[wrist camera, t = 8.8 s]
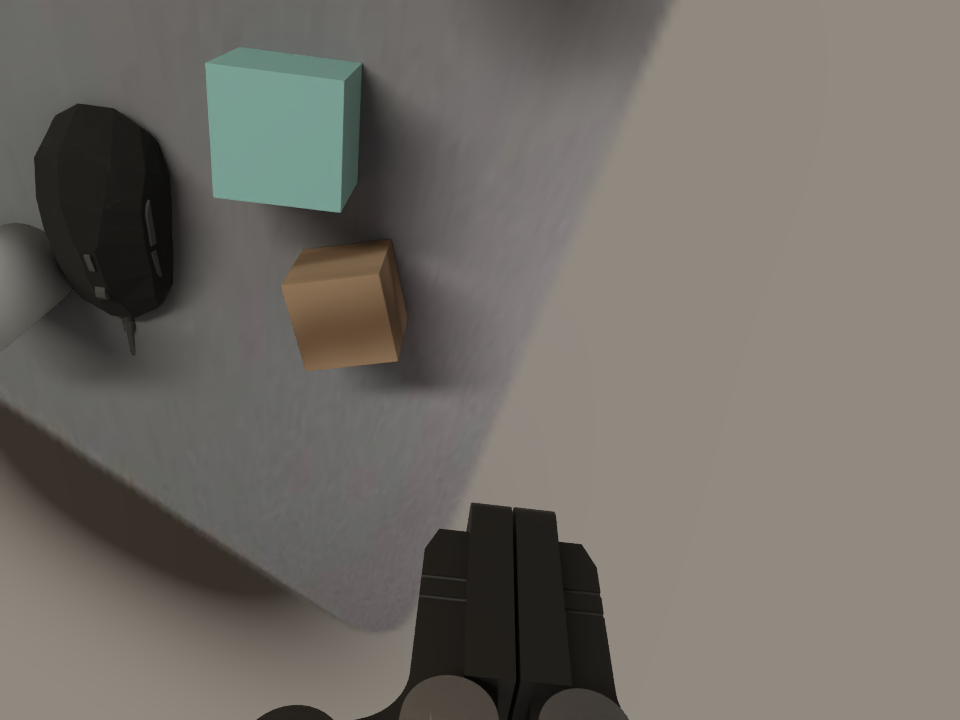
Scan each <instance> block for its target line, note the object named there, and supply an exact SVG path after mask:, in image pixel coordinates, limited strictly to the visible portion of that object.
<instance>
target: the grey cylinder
mask: <svg viewBox="0 0 960 720" xmlns="http://www.w3.org/2000/svg"><path fill="white" fill-rule="evenodd" d="M71 289H72V287H71V285H70V283H69V282H68V280H67V278H66V276H65V275H64V273H63V271H62V269H61V268H60V266H59V264H58V262H57V260H56V258H55V255H54V253H53V250H52V248H51V245H50V243H49V241H48V238H47V236H46V233H45V232H44V231H42V230H40V229H38V228H36V227H33V226H30V225H26V224H19V223H11V224H5V225H2V226H0V351H2V350H4V349H5V348H6V347H7V346H9V345H10V344H11V343H12V342H13V341H14V340H16V339H17V338H18V337H19V336H20V335H22V334H23V333H24V332H25V331H26V330H27V329H29V328H30V327H31V326H32V325H33V324H35V323H36V322H37V321H38V320H39V319H40V318H42V317H43V316H44V315H45V314H46V313H47V312H49V311H50V310H51V309H52V308H53V307H55V306H56V305H57V304H58V303H59V302H60V301H62V300H63V299H64V298H65V297H66V296H67V295H68V294H69V292H70V291H71Z"/></svg>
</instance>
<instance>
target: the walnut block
mask: <svg viewBox="0 0 960 720" xmlns="http://www.w3.org/2000/svg"><path fill="white" fill-rule="evenodd" d="M281 288H282V292H283V295H284V298H285V302H286V305H287V309H288V312H289V315H290V319H291V322H292V326H293V329H294V333H295V336H296V339H297V343H298V346H299V350H300V353H301V357H302V360H303V363H304V367H305V370H306V371H313V370H322V369H331V368H340V367H350V366H359V365H368V364H377V363H386V362H396V361H398V359H399V355H400V350H401V346H402V342H403V338H404V333H405V329H406V325H407V320H408V318H407V313H406V308H405V303H404V298H403V293H402V289H401V284H400V279H399V274H398V269H397V264H396V260H395V255H394V250H393V245H392V240H391V239H384V240H376V241H368V242H360V243H352V244H344V245H336V246H327V247H319V248H311V249H303V251H302V252H301V254H300V255H299V257H298V259H297V260H296V262H295V264H294V265H293V267H292V268H291V270H290V272H289V273H288V275H287V277H286V278H285V280H284V282H283V283H282V285H281Z"/></svg>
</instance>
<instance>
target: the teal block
mask: <svg viewBox="0 0 960 720" xmlns="http://www.w3.org/2000/svg"><path fill="white" fill-rule="evenodd" d="M205 67H206V84H207V100H208V117H209V133H210V150H211V167H212V183H213V197H215V198H223V199H231V200H239V201H248V202H256V203H264V204H272V205H280V206H289V207H297V208H305V209H313V210H321V211H330V212H338V213H341V211H342V210H343V208H344V206H345V204H346V202H347V201H348V199H349V197H350V195H351V193H352V192H353V190H354V188H355V186H356V184H357V183H358V158H359V132H360V106H361V80H362V63H357V62H350V61H342V60H334V59H327V58H319V57H311V56H303V55H296V54H288V53H280V52H272V51H265V50H257V49H249V48H242V47H239V48H236V49H234V50H232V51H230V52H228V53H226V54H223V55H221V56H219V57H217V58H215V59H213V60H210V61H208V62H206V63H205Z"/></svg>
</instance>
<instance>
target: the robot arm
mask: <svg viewBox="0 0 960 720" xmlns="http://www.w3.org/2000/svg"><path fill="white" fill-rule="evenodd" d="M412 652H413V653H412V660H411V668H410V676H409V680H408V682H407V685H406V687H405V689H404V690H403V692H402V694H401V695H400V696H399V697H398V698H397V699H396V701H395V702H393V703H392V704H391V705H390V706H389V707H387V708H386V709H384V710H382V711H381V712H379V713H376V714H374V715H372V716H369V717H365V718H361V719H357V720H629V719H628V717H627V716H626V715H625V713H624V712H623V710H622V709H621V708H620V705H619V702H618V700H617V696H616V691H615V684H614V678H613V672H612V665H611V659H610V652H609V645H608V639H607V633H606V626H605V619H604V618H603V606H602V599H601V597H600V587H599V580H598V573H597V567H596V566H595V564H594V563H593V561H592V560H591V558H590V557H589V555H588V553H587V552H586V550H585V549H584V547H583V546H582V544H574V543H565V542H558V532H557V522H556V515H555V512H552V511H543V510H534V509H526V508H517V507H514V509H513V512H512V508H511V507H506V506H498V505H489V504H480V503H471V506H470V512H469V519H468V525H467V531H466V532H464V531H455V530H446V529H439V530H438V531H437V533H436V534H435V535H434V537H433V538H432V540H431V541H430V542H429V544H428V545H427V547H426V548H425V552H424V561H423V569H422V577H421V585H420V593H419V601H418V610H417V618H416V626H415V636H414V643H413V651H412ZM257 720H333V719H332V718H331V717H330V716H328V715H327V714H326V713H324V712H322V711H320V710H318V709H316V708H313V707H310V706H303V705H290V706H284V707H281V708H277V709H274V710H272V711H270V712H268V713H266V714H264V715H263V716H261V717H260V718H258V719H257Z"/></svg>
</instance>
